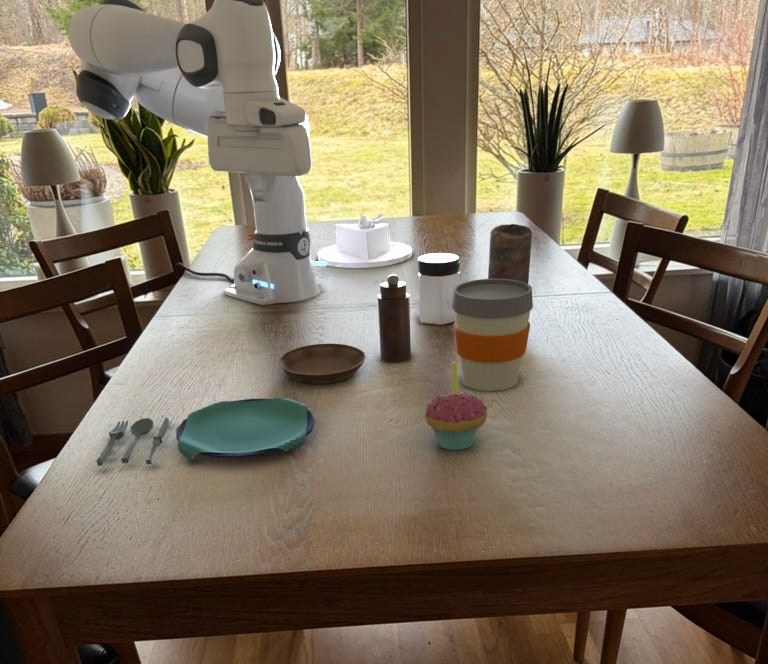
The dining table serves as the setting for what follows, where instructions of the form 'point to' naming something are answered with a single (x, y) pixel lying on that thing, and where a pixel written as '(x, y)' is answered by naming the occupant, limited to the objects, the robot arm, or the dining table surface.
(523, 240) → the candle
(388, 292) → the pepper mill
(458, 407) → the cupcake
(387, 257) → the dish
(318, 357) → the saucer
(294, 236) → the robot arm
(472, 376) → the reusable coffee cup
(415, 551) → the dining table surface
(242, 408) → the cutlery set
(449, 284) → the jar
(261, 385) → the dining table surface
